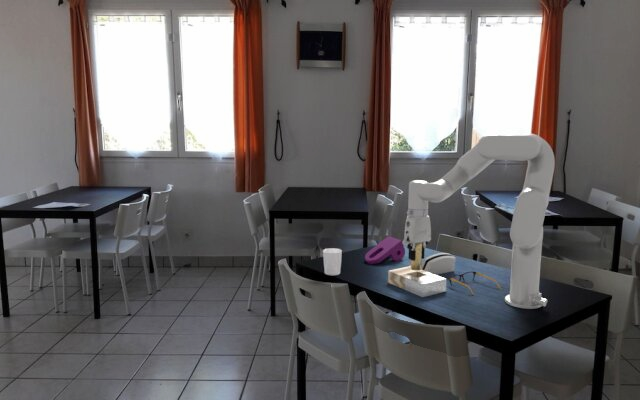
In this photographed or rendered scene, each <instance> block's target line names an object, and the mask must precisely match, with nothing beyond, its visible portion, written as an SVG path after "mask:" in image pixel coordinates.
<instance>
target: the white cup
mask: <svg viewBox="0 0 640 400" xmlns="http://www.w3.org/2000/svg"><path fill="white" fill-rule="evenodd" d="M342 251H343V250H342V249H341V248H334V247H333V248H332V247H331V248H325V249H322V255H323V267H324V268H323V269H324V274H325V275H327V276H339V275H340V274H341V269H342V268H341V267H342V254H343V253H342Z"/></svg>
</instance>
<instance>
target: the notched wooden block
mask: <svg viewBox="0 0 640 400" xmlns="http://www.w3.org/2000/svg"><path fill="white" fill-rule="evenodd" d="M387 272H388V276H387V284H390V285H392V286H395V287H396V288H400V289H402V290H405V277H408V276H412V277H415V278H418V277H422V273H426V272H427V271H424V270H418V271H415V270H411V265H408V266H405V267H400V268H394V269H390V270H388V271H387ZM405 291H406V290H405Z"/></svg>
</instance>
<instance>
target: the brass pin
mask: <svg viewBox="0 0 640 400" xmlns="http://www.w3.org/2000/svg"><path fill="white" fill-rule="evenodd" d="M414 250H415V261H413V260H410V266H411V270H415V271H418V270H421V266H422V260H423V259H422V242H421V243H415V249H414Z"/></svg>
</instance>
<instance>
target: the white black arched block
mask: <svg viewBox="0 0 640 400" xmlns="http://www.w3.org/2000/svg"><path fill="white" fill-rule="evenodd" d="M456 260H457V258H456V257H455V256H454V255H452V254H450V253H447V252H439V253H435V254H432V255H429V256H427V257H424V259H423V261H422V262H421V270H424V271H427V272H429V273H432V274H435V275H441V274H447V273H451V272H454V270H455V266H456V262H457V261H456Z"/></svg>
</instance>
